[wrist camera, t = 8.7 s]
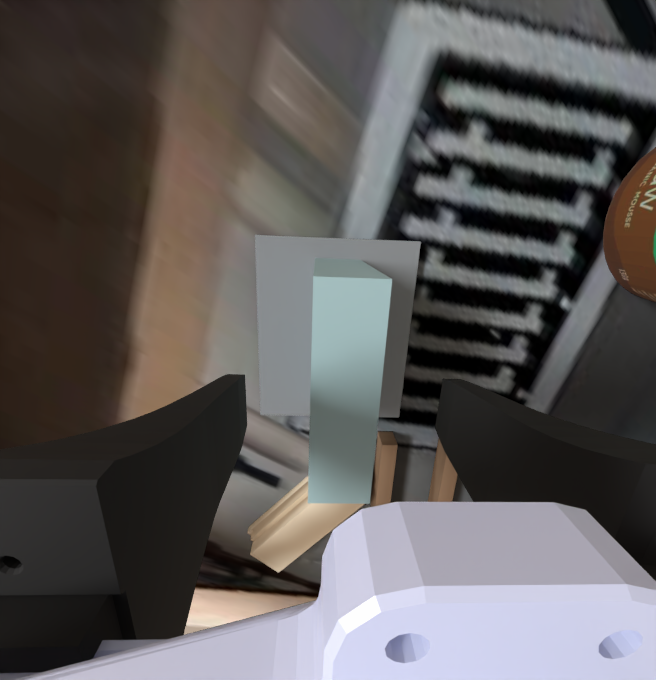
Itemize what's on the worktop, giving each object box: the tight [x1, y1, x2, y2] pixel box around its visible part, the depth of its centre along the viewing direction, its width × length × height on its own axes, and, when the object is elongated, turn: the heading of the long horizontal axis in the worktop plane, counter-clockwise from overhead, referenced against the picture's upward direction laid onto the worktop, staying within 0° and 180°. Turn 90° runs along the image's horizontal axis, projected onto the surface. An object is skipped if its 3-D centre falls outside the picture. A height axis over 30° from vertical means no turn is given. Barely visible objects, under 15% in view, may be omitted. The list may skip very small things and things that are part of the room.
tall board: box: [308, 258, 392, 504], centre depth 15 cm, size 2×9×8 cm, turn 178°
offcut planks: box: [248, 476, 364, 573], centre depth 23 cm, size 3×10×3 cm, turn 135°
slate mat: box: [255, 235, 421, 417], centre depth 19 cm, size 9×11×1 cm
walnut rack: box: [370, 431, 458, 507], centre depth 23 cm, size 5×12×2 cm, turn 178°
